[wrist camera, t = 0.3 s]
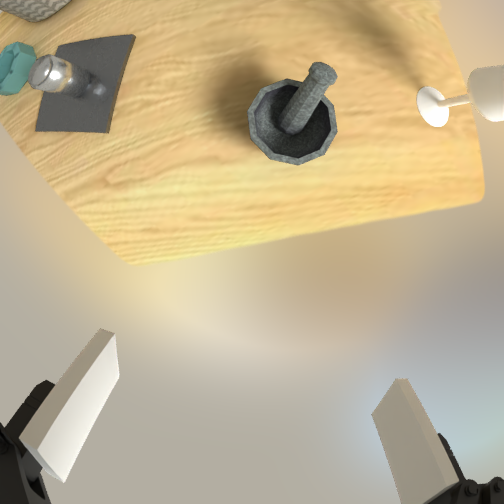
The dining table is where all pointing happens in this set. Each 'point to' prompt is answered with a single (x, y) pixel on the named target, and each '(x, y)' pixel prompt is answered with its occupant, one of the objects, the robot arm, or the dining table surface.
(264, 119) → the mortar and pestle
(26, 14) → the planter
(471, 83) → the champagne flute
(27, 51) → the ring
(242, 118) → the dining table surface
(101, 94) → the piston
